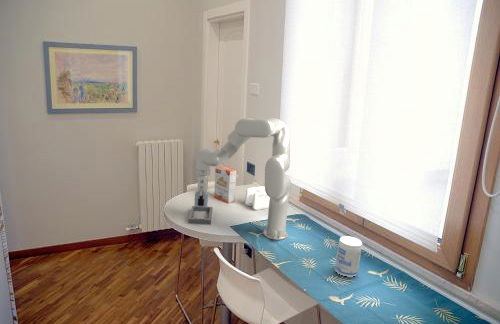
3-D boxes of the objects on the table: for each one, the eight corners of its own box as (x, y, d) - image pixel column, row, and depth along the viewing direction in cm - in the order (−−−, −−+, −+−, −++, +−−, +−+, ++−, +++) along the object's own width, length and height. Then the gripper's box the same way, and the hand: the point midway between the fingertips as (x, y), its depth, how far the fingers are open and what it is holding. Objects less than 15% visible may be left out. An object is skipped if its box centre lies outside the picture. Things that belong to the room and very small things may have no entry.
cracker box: (213, 197, 239) (215, 166, 234) (220, 195, 243) (222, 165, 238) (227, 203, 229) (229, 171, 225) (234, 202, 234) (237, 170, 229)
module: (207, 207, 202) (207, 194, 200) (194, 206, 201) (194, 193, 199) (207, 204, 206) (208, 191, 205) (195, 203, 206) (195, 190, 204)
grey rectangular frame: (210, 224, 196) (211, 220, 195) (188, 223, 195) (188, 219, 195) (212, 211, 215) (212, 206, 215) (191, 209, 215) (191, 205, 214)
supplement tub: (332, 274, 155) (336, 242, 152) (336, 264, 164) (341, 233, 160) (355, 280, 151) (360, 247, 148) (359, 270, 160) (364, 239, 157)
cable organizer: (264, 202, 237) (266, 185, 234) (274, 208, 228) (276, 190, 225) (244, 205, 228) (246, 187, 226) (254, 211, 220) (255, 193, 217)
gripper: (209, 176, 191) (207, 209, 196) (210, 168, 208) (208, 199, 212) (194, 175, 191) (192, 208, 195) (197, 167, 207) (195, 198, 212)
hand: (201, 203), depth 204 cm, fingers closed on module, 5 cm apart
